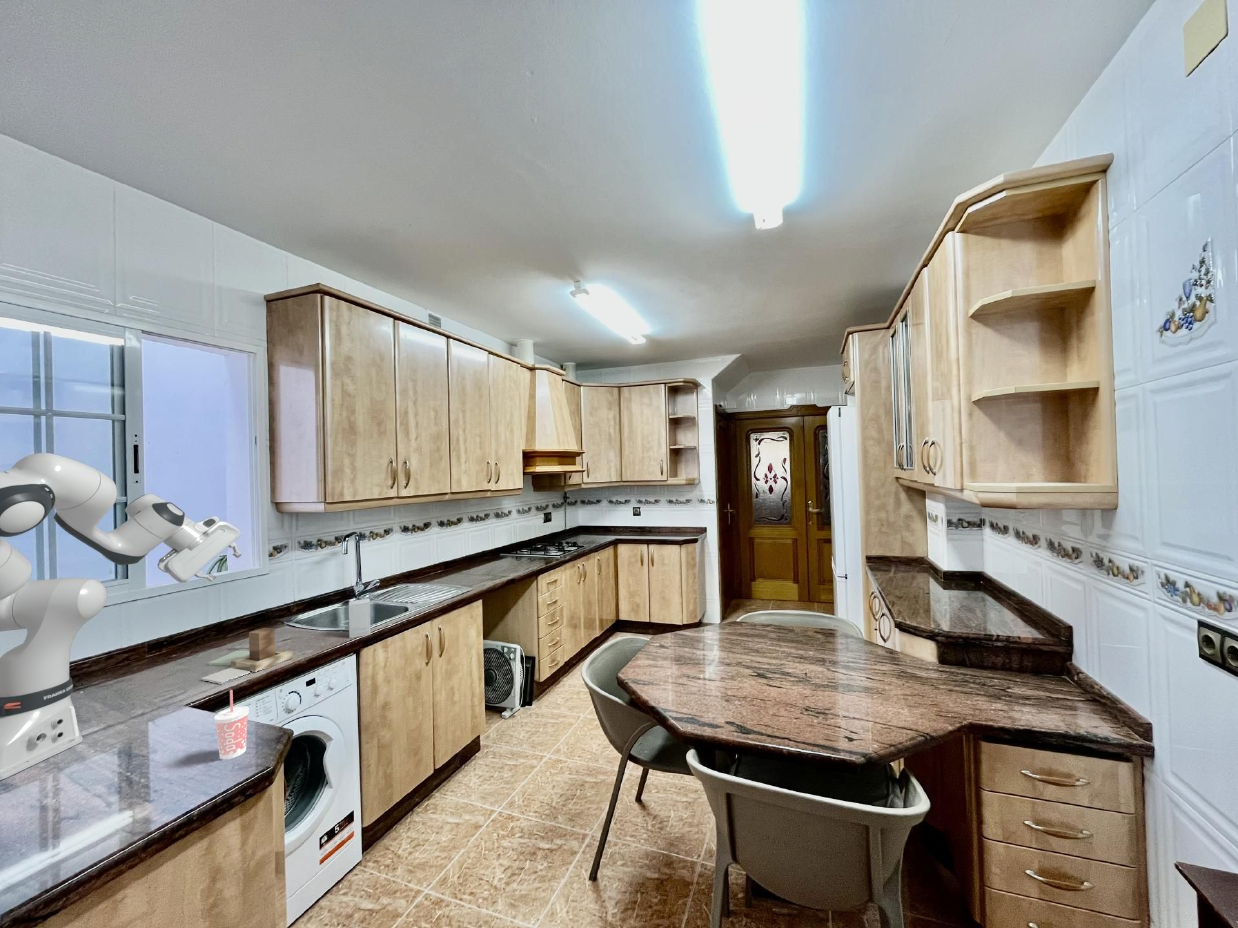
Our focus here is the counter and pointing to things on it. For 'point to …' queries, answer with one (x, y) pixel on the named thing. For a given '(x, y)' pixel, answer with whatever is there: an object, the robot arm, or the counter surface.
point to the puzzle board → (248, 666)
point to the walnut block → (261, 644)
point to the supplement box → (359, 618)
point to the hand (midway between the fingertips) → (227, 567)
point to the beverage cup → (232, 730)
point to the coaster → (229, 658)
